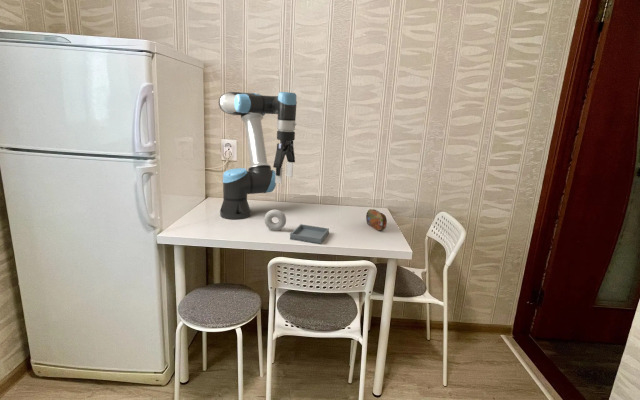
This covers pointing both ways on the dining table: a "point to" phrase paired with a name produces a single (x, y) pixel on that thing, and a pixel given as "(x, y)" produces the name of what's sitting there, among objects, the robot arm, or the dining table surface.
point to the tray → (309, 234)
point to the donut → (271, 224)
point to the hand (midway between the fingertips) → (284, 179)
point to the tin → (376, 219)
